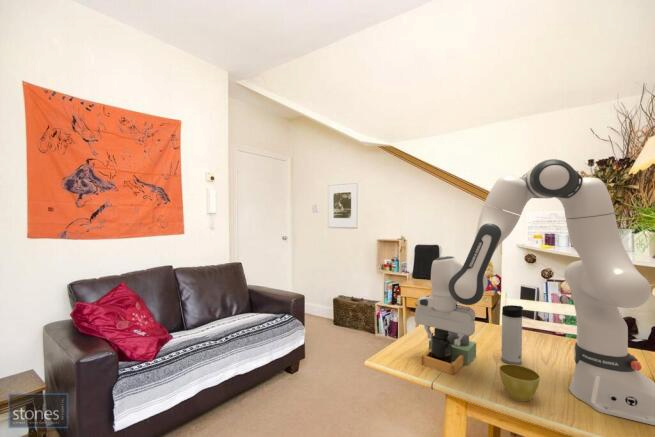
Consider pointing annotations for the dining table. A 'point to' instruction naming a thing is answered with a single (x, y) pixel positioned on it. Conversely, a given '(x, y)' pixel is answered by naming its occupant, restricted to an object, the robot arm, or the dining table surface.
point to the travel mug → (512, 334)
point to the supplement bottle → (441, 346)
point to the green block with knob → (461, 348)
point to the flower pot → (519, 381)
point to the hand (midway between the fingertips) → (443, 341)
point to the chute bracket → (442, 363)
